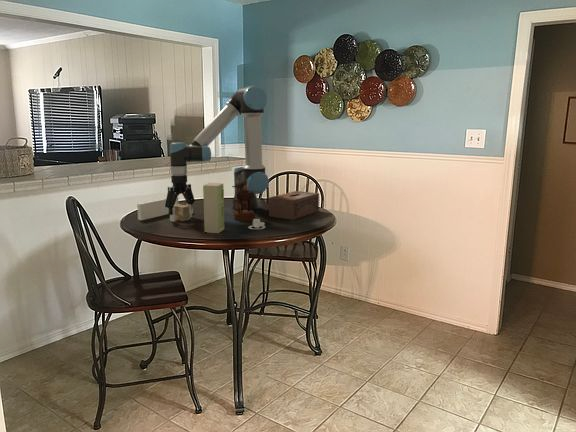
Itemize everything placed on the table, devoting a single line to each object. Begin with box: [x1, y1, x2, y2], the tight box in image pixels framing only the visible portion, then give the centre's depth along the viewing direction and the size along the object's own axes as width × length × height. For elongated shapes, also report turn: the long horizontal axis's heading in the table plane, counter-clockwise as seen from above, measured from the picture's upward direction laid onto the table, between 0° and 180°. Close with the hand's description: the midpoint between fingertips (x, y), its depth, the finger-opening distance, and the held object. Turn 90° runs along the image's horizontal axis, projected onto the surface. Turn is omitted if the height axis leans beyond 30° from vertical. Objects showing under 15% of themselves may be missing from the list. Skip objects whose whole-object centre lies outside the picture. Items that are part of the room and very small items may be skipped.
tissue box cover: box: [268, 190, 320, 221], centre depth 246 cm, size 26×14×10 cm, turn 147°
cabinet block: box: [173, 203, 191, 222], centre depth 232 cm, size 7×5×7 cm
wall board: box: [136, 196, 194, 221], centre depth 239 cm, size 12×28×8 cm, turn 149°
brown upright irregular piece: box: [231, 180, 256, 222], centre depth 233 cm, size 15×11×20 cm
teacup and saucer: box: [247, 218, 266, 230], centre depth 216 cm, size 9×8×4 cm
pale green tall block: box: [202, 182, 225, 234], centre depth 207 cm, size 8×7×21 cm
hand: (181, 219), depth 233 cm, fingers open, 11 cm apart
